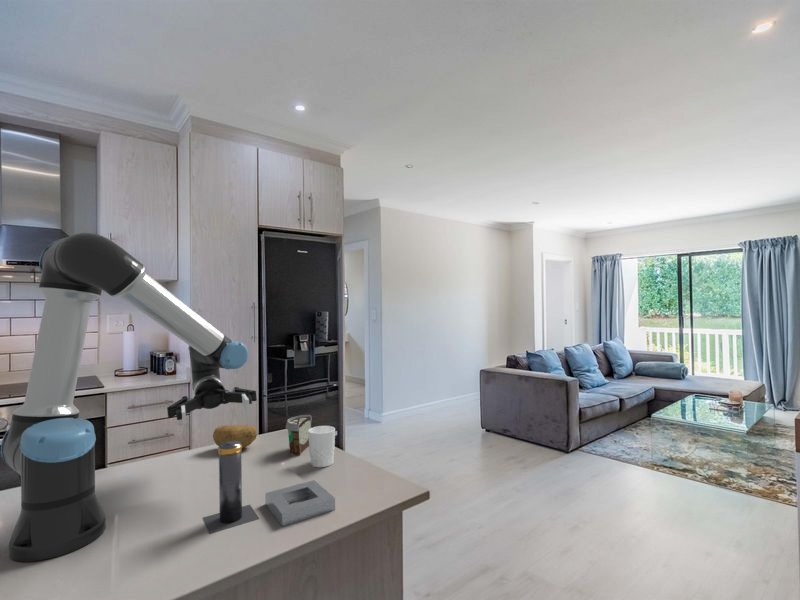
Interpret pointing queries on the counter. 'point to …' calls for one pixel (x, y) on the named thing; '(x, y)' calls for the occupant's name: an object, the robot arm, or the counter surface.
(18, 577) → the counter surface
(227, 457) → the cylinder
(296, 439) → the food container
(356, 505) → the counter surface
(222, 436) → the potato
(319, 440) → the white cup
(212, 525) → the mount
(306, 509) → the socket
